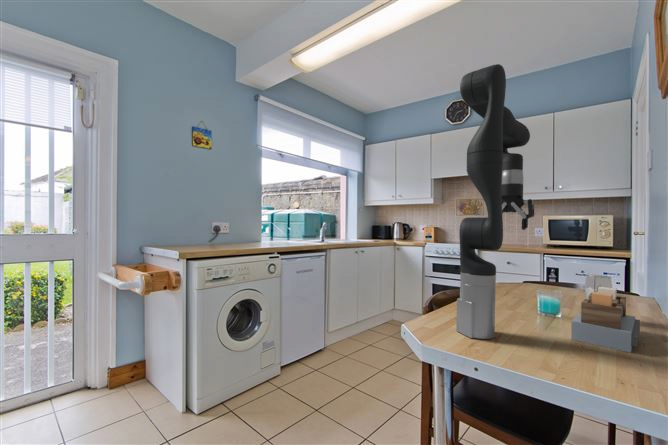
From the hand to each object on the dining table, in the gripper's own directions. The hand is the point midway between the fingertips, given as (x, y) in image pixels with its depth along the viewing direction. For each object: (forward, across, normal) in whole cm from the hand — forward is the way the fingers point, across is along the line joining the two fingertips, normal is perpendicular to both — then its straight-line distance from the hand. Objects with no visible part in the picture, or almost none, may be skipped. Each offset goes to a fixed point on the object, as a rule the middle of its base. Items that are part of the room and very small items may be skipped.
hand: (509, 229), depth 110 cm
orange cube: (+21, -26, +8) cm, 34 cm away
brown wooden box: (+25, -26, +2) cm, 36 cm away
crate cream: (+21, -26, -4) cm, 34 cm away
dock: (+30, -26, +2) cm, 40 cm away
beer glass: (+30, -22, -18) cm, 42 cm away
